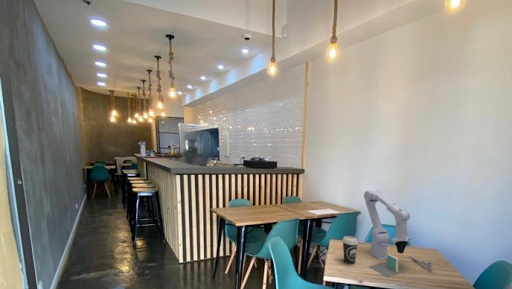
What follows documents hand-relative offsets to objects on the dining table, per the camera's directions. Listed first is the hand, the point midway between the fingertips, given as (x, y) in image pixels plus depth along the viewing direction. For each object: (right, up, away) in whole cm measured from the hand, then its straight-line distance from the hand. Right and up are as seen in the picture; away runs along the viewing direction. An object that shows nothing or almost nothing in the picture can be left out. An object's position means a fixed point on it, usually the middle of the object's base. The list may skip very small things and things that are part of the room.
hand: (400, 252), depth 148 cm
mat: (-10, -9, -3) cm, 14 cm away
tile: (-7, -9, -3) cm, 11 cm away
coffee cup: (-29, -9, +6) cm, 31 cm away
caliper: (+15, -10, +5) cm, 19 cm away
